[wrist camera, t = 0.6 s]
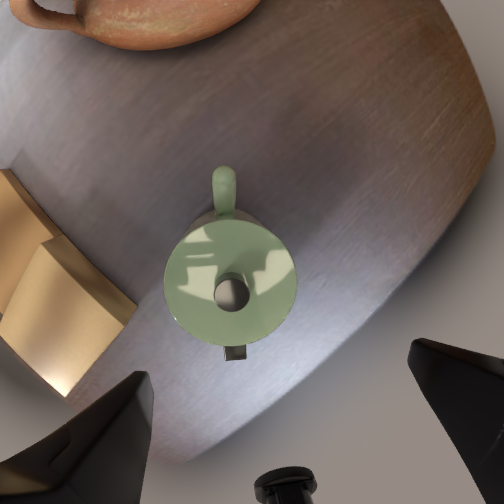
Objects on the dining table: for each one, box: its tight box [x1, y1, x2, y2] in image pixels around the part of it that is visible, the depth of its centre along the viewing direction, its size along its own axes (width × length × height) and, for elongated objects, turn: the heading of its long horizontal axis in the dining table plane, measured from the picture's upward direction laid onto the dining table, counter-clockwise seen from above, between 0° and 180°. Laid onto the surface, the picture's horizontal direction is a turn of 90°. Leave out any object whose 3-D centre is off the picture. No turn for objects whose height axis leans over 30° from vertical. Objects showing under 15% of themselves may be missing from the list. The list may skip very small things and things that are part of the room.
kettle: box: [163, 165, 297, 361], centre depth 17 cm, size 10×6×8 cm, turn 2°
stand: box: [0, 169, 137, 397], centre depth 18 cm, size 16×10×4 cm, turn 44°
